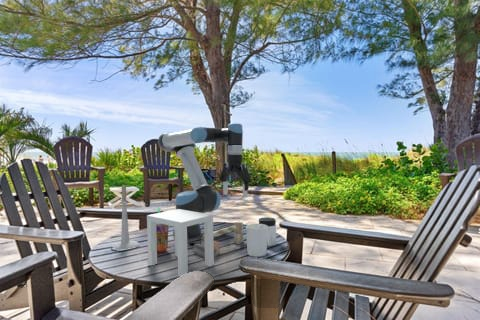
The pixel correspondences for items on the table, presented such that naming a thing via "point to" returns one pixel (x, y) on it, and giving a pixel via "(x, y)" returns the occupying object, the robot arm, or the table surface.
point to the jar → (270, 229)
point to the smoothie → (161, 236)
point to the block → (217, 246)
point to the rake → (236, 228)
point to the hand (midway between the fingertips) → (234, 195)
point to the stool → (180, 235)
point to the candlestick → (124, 226)
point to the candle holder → (256, 239)
